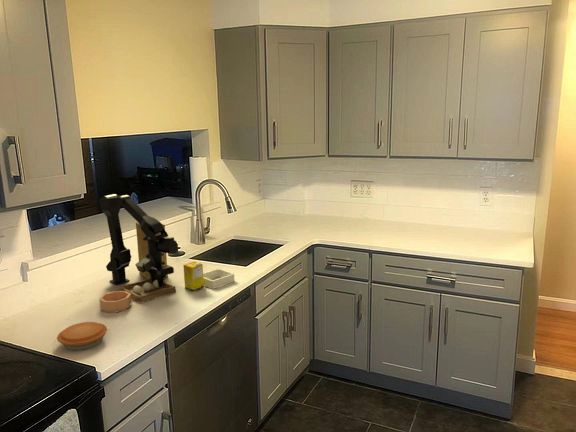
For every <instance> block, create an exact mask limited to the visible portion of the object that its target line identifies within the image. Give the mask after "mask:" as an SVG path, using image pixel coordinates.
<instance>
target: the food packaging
mask: <svg viewBox="0 0 576 432" xmlns="http://www.w3.org/2000/svg"><path fill="white" fill-rule="evenodd" d="M161 224H162V225H163V228H164V229H165V230H166V225H165V224H164V223H161ZM135 230H136V240H137V242H136V243H137V254H138V255H137V256H138V262H139V261H141V260H142V259H144V258H146V254H147V253H148V246H147V241H144V240H143V238H144V237H145V236H146V235H145V234H144V233H143V231H142V230H141V227H140V224H139V223H138V222H137V221H136V222H135ZM160 234H161V233H160ZM160 234H158V235H160ZM158 235H155V236H158ZM162 259H163V262H165V264H164V265H162V266H165V265H168V262H167V259H168V257H167V253H164V255H163V256H162ZM138 272H139V275H140V276H142V277H143V278H145V280H146V279H149V278H151V277H150V274H149V273H148V272H147V271H146V272H144V273H142V272H140V271H138ZM168 277H169V274H168V275H166V277H165V278H168Z"/></svg>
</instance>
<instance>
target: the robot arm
mask: <svg viewBox="0 0 576 432" xmlns="http://www.w3.org/2000/svg"><path fill="white" fill-rule="evenodd" d="M99 207H100V210H101V212H102V213H103V214H104V215H105V216H106V221H107V226H108V231H109V236H110V243H111V247H112V248H111V251H110V254H109V259H110V261H109V262H108V263H107V264H106V265H105V268H106V271H107V272H111V280H109V282H110V283H111V284H114V285H115V286H117V285H120V284H124V283H128V282H130V279H128V278H127V276H126V274H127V273H126V268H128V267H130V262H131V260H132V254H131V249H130V248H127V247H126V246H125V244H124V238H123V232H122V227H121V226H122V225H121V221H120V220H121V219H120V215H119V213H120V211H121V207H122V208H123V209H124V210H125V211H126V212H127V213H128V214H129V215H130V216H131V217H132V218H133V219H134V220H135V221H136V222H138V223H139V224H140V227H141V230H142V231H143V233H144V234H145V235H146V236H145V237H144V238H143V240H144V241H147V246H148V253H147V254H146V258H144V259H142V260H141V261H139V260H138V261H137V262H136V263H135V265H134V266H135V267H136V269H137V271H138V272H139V271H140V272H142V273H144V272H146V271H147V272H148V273H149V274H150V277H151V279H152V281H153V282H154V281H155V280H157V281H158V286H159V287H161V286H162V284H163V281H164V282H165V279H166V278H167V277H166V275H168V276H169V275H171V274H174V273H175V268H174V267H173V266H171V265H168V264H167V265H165V266H162V265H164V264H165V262H163V259H162V256H163V255H164V253H166V254H171V255H174V254H176V253H177V251H178V249H179V244H178V242H177V241H176V240H175V237H173V236H171V237H170V236H169V234H168V232H167V231H166V228H165V229H164V228H163V225H162V224H163V223H162V222H160V221H159V220H158V219H156V218H155V217H152V216H150V215H148V214H147V213H146V211H144V210H143V209H142V208H141V207H140V206H139V205H138V204H137V203H136V201H134V200H133V199H132V197H131V196H130V195H128V194H125V195H124V194H123V195H118V194H116V193H112V194H108V195H104V196H101V197H100V199H99ZM160 233H161V234H160ZM158 234H160V235H158ZM155 235H158V236H155ZM140 272H139V273H140Z"/></svg>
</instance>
